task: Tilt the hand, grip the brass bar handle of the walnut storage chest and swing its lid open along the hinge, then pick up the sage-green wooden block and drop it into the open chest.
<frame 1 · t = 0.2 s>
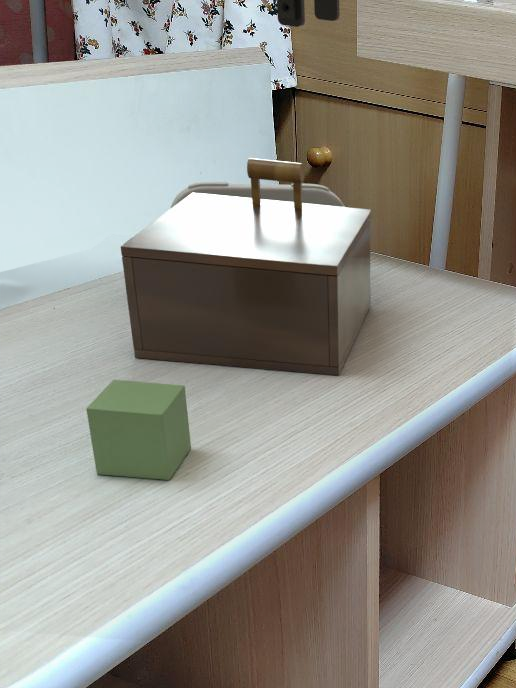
hand: (309, 22, 90), 26 cm above the table, tool pointing down, fingers open, 8 cm apart
lid: (257, 206, 88), point 11 cm above the table, hinge at 0.0°
block: (145, 461, 70), on the table
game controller: (264, 260, 113), on the table
chest: (262, 330, 94), on the table
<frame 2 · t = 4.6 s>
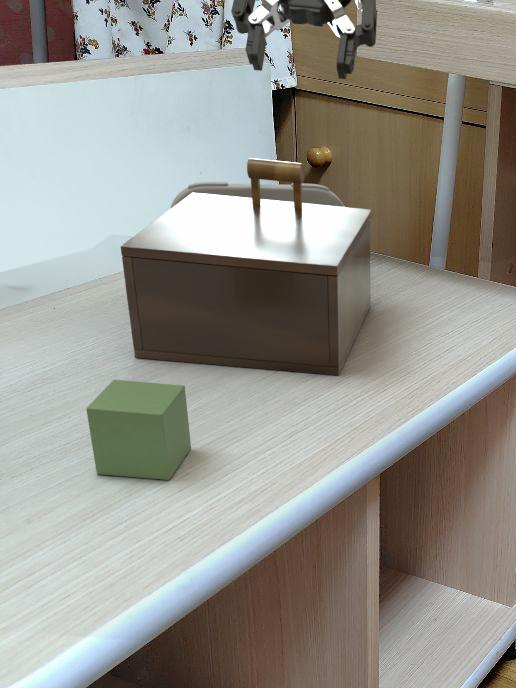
hand: (298, 69, 99), 21 cm above the table, tool tilted 45°, fingers open, 8 cm apart
nothing on the table moved.
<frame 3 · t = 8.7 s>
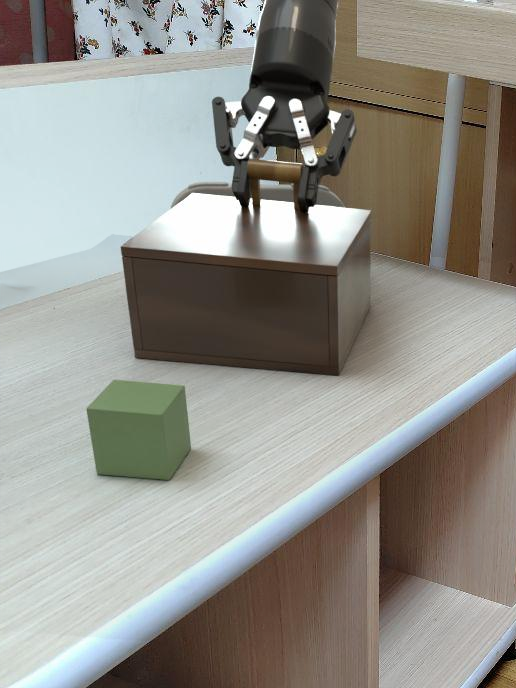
hand: (272, 204, 94), 10 cm above the table, tool tilted 45°, fingers closed on lid, 5 cm apart
lid: (257, 207, 88), point 11 cm above the table, hinge at -0.2°, touching chest, gripper
everything else where it was.
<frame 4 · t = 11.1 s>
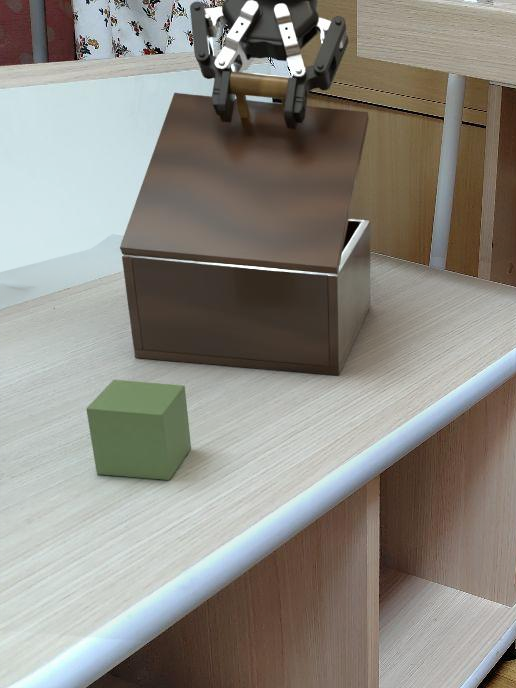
hand: (256, 119, 86), 18 cm above the table, tool tilted 45°, fingers closed on lid, 5 cm apart
lid: (247, 159, 84), point 16 cm above the table, hinge at 29.1°, touching gripper
everything else where it was.
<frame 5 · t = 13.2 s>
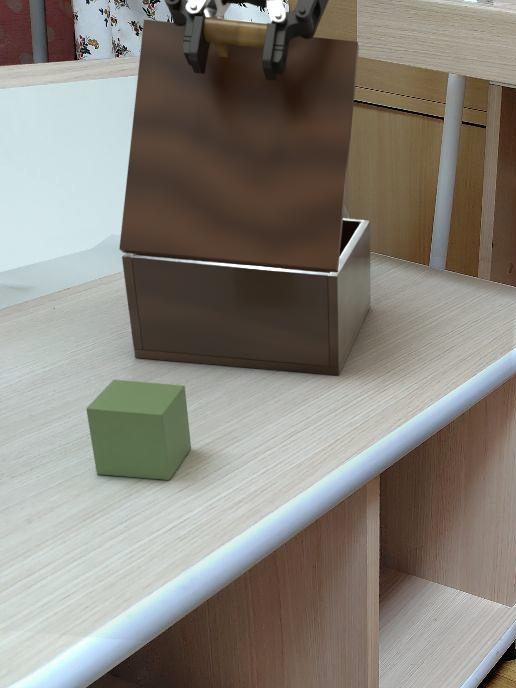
hand: (232, 69, 78), 23 cm above the table, tool tilted 45°, fingers closed on lid, 5 cm apart
lid: (234, 134, 80), point 18 cm above the table, hinge at 54.7°, touching gripper
everything else where it was.
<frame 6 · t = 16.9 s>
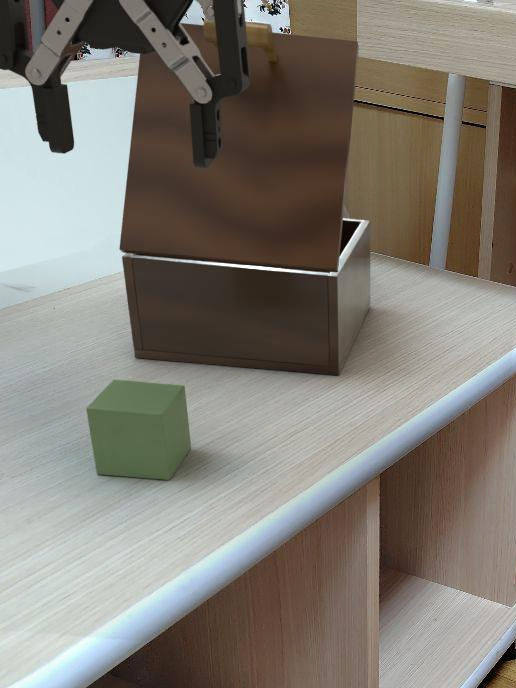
hand: (133, 158, 61), 20 cm above the table, tool pointing down, fingers open, 8 cm apart
lid: (234, 134, 80), point 18 cm above the table, hinge at 54.9°
everything else where it was.
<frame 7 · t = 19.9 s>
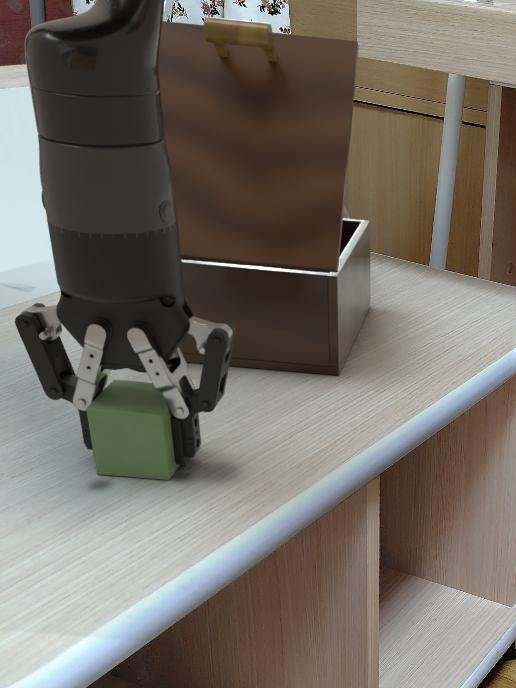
hand: (144, 455, 70), 0 cm above the table, tool pointing down, fingers closed on block, 5 cm apart
block: (145, 461, 70), on the table, touching gripper
everything else where it was.
when the fingers open (9 cm above the table, at t = 31.9 s): block drops 7 cm, resting on chest.
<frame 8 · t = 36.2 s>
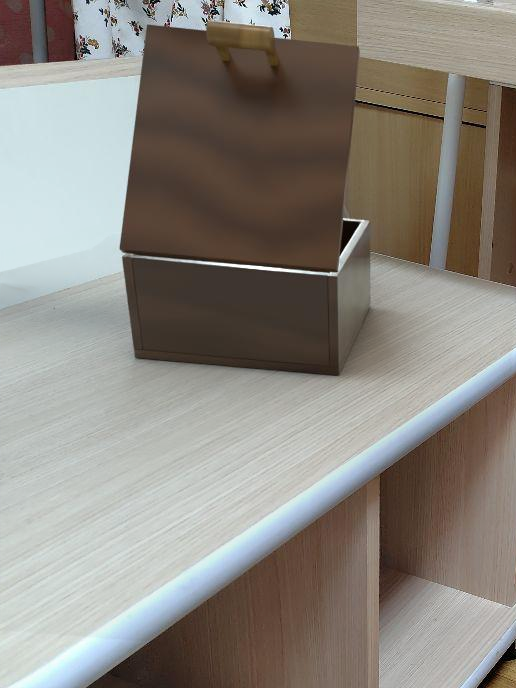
lid: (235, 135, 80), point 18 cm above the table, hinge at 52.6°
block: (278, 304, 98), point 1 cm above the table, touching chest
everything else where it was.
at the end: lid at +53° (first picture: +0°); block inside the target area in the chest (5.4 cm from its centre), point 0.8 cm above the chest's base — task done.
